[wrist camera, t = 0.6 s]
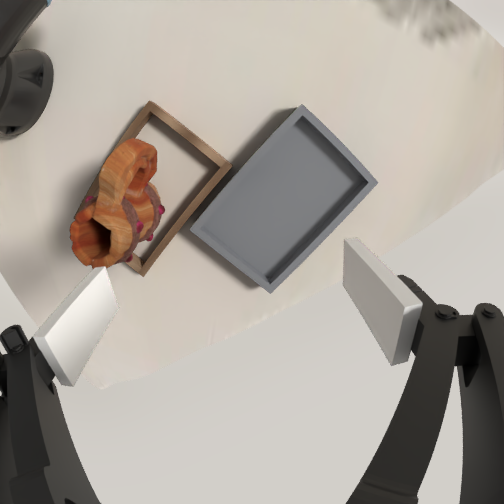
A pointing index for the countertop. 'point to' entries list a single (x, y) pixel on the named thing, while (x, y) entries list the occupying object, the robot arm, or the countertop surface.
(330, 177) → the tray
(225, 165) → the wooden picture frame
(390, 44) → the countertop surface
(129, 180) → the mug
